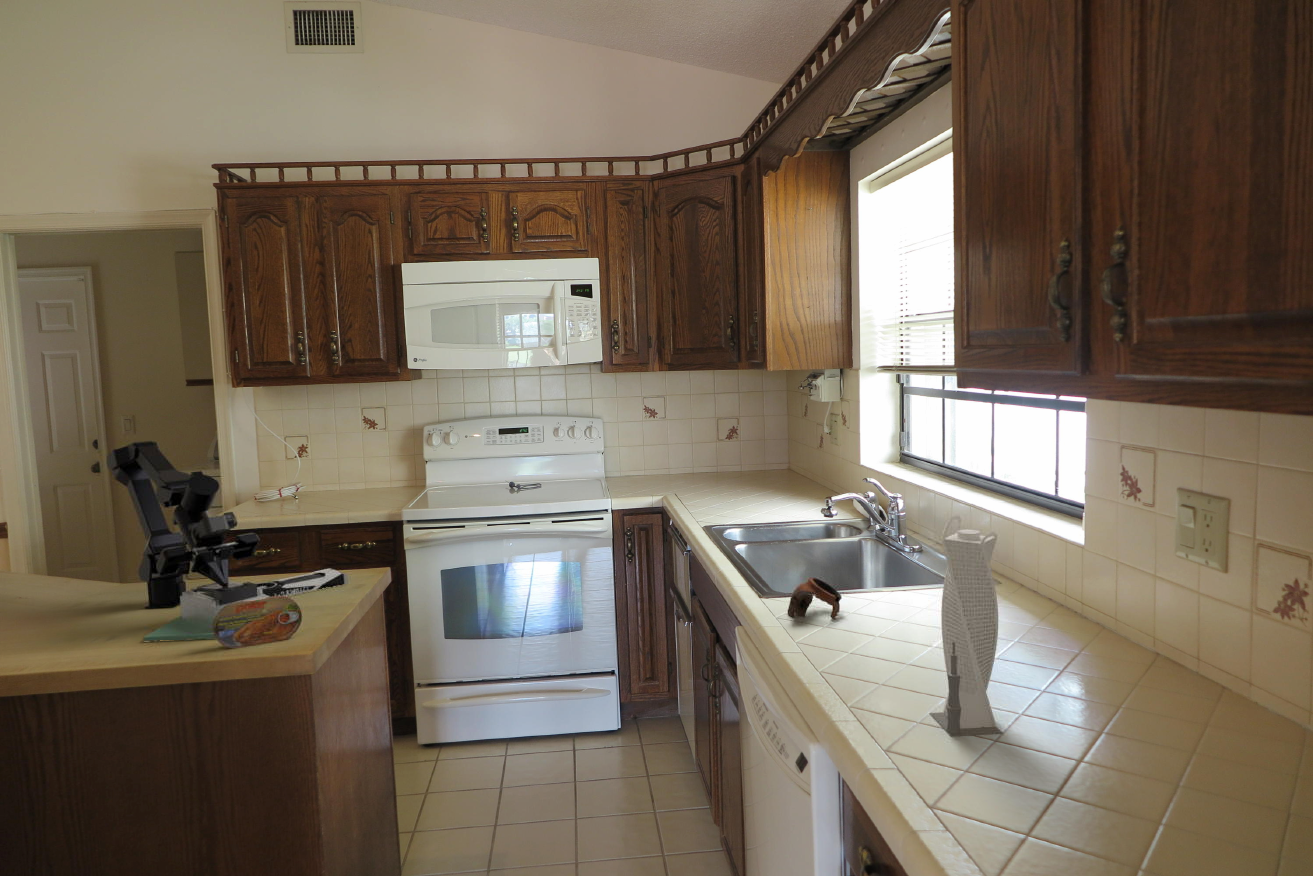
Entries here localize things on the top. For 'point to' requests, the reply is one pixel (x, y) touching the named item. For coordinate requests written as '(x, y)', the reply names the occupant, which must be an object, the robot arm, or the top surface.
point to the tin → (257, 621)
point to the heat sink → (214, 602)
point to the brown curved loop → (804, 597)
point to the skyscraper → (968, 632)
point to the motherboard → (180, 631)
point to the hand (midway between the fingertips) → (226, 585)
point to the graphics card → (303, 583)
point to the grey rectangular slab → (217, 587)
